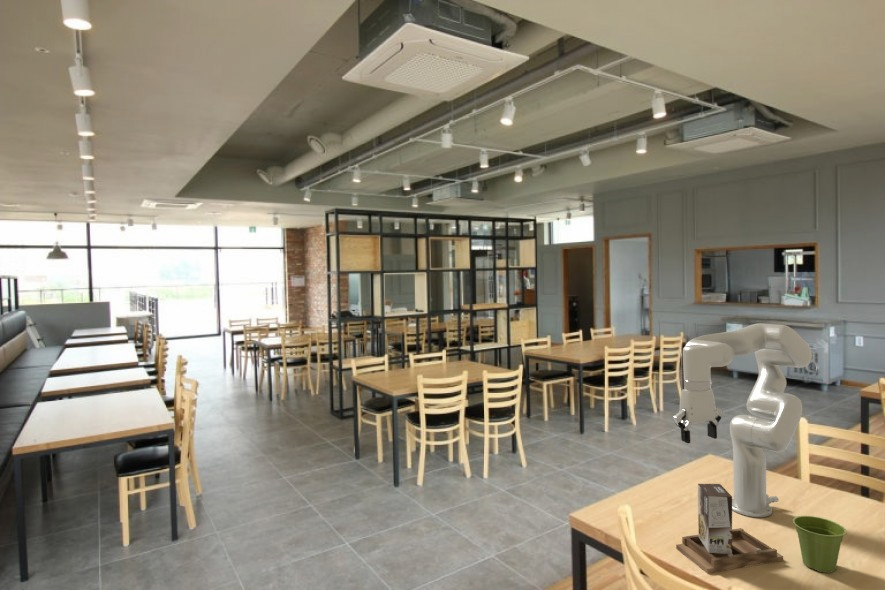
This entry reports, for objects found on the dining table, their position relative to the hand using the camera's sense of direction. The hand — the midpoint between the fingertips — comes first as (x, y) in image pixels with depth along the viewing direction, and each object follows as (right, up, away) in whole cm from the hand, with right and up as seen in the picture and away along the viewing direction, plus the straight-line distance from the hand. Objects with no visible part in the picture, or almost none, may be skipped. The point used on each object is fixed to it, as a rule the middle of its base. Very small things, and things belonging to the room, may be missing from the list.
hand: (699, 439), depth 163 cm
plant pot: (+23, -29, -20) cm, 42 cm away
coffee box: (-3, -26, -14) cm, 30 cm away
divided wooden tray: (+2, -29, -13) cm, 32 cm away
